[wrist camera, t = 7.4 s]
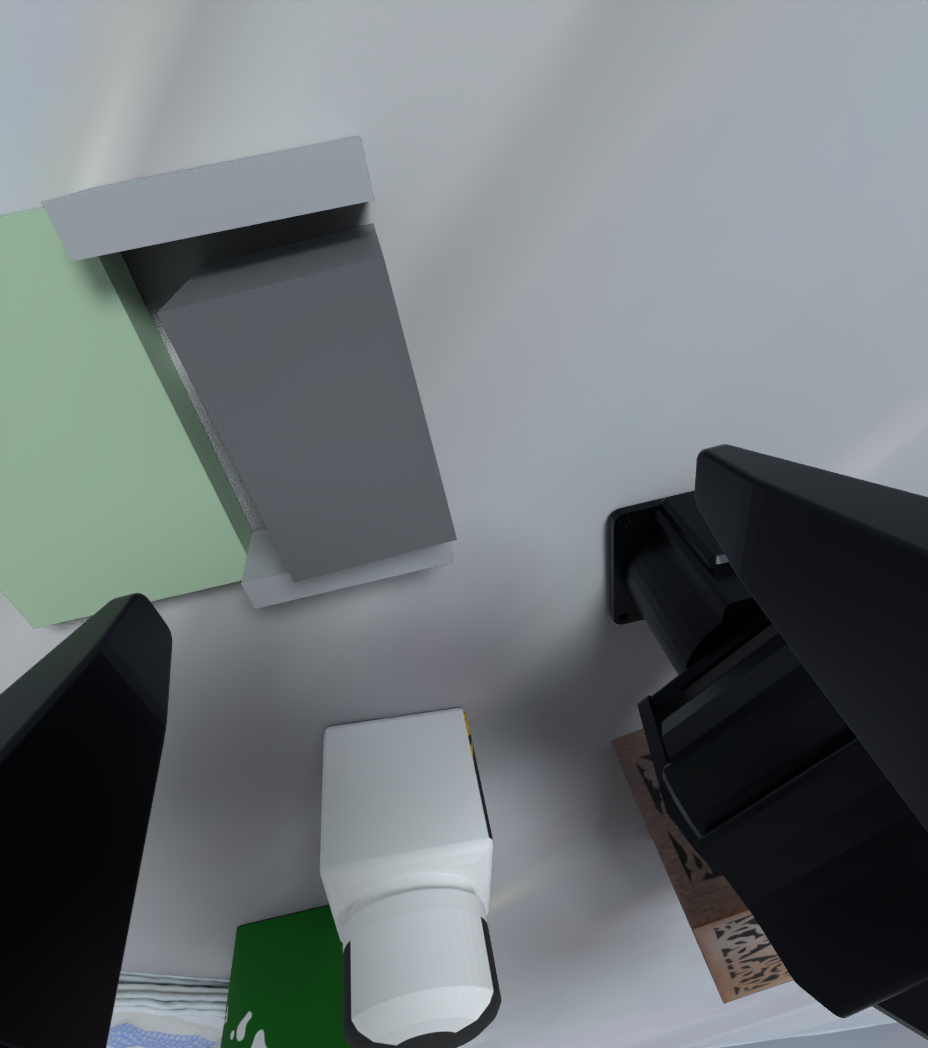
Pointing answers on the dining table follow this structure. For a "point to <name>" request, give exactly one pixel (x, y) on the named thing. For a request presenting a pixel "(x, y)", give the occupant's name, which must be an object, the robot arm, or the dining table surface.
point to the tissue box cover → (702, 890)
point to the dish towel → (167, 1011)
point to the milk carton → (286, 984)
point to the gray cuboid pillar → (315, 399)
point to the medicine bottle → (409, 880)
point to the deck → (136, 397)
